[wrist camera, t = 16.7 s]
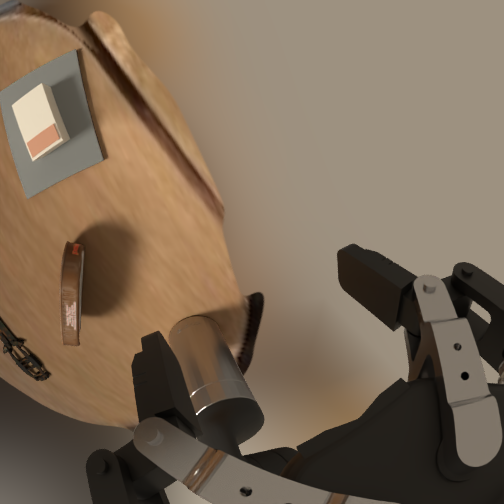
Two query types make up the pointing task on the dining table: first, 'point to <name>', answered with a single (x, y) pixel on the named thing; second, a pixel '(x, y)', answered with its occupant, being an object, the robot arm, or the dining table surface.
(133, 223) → the dining table surface
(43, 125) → the card box
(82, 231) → the dining table surface
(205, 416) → the robot arm
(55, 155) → the mat
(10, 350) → the knife
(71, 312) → the tin
